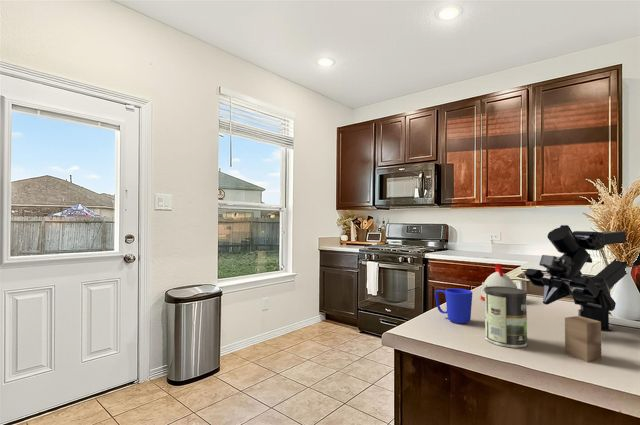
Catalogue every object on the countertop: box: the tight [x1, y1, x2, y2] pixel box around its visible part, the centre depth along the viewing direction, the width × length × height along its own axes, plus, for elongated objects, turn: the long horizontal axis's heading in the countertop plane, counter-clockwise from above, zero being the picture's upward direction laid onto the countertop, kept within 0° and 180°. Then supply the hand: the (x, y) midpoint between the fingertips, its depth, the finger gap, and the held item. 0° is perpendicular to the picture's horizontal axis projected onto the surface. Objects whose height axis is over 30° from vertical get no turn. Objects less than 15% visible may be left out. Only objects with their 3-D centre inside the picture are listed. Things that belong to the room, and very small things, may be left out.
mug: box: [434, 287, 473, 325], centre depth 109 cm, size 8×12×10 cm
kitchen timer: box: [480, 263, 518, 302], centre depth 136 cm, size 14×14×15 cm
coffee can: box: [484, 286, 528, 349], centre depth 91 cm, size 10×10×14 cm
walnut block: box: [564, 315, 602, 363], centre depth 80 cm, size 5×5×9 cm
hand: (544, 303), depth 96 cm, fingers closed
